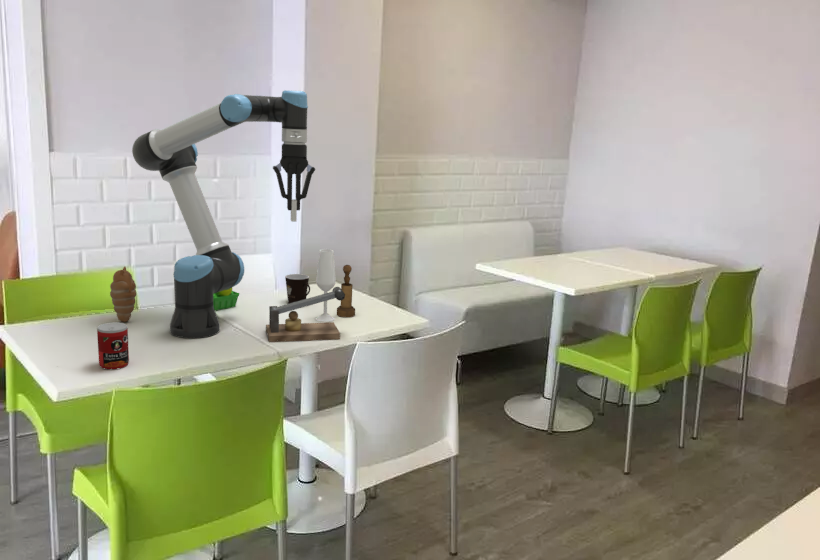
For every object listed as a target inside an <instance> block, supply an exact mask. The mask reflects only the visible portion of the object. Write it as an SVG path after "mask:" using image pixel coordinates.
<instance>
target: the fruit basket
mask: <svg viewBox="0 0 820 560" xmlns="http://www.w3.org/2000/svg"><path fill="white" fill-rule="evenodd" d="M239 295H240V292H237V291H235V290H233V287H232V288H230V289H227V290H223V291H220V292H217V293H214V294H213V305H214V310H216V311H219V310H225V309H231V308H235V307H236V305H237V302H238V299H239V297H240V296H239Z"/></svg>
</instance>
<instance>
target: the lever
mask: <svg viewBox="0 0 820 560" xmlns="http://www.w3.org/2000/svg"><path fill="white" fill-rule="evenodd" d="M331 290H332V291H328V292H327V293H325V294H324V293H322V294H319V295H315V296H312V297H311V296H310V297H308V298H306V299H304V300H300V301H297V302H293V303H290V304H288V303H286V304H284V305H279V306H277V307H271V308H270V313H271V310H279V315H281V314H283V313H288V312H291V311H295V310H298V309H301V308H305V307H309V306H313V305H315V304H319V303H324V301H327V302H328V301H330V300H334V299H336V300H337V301H341V300H343V299H344V298H345V294H344V292H343V291H342V289H341V287H339V286H334V287H333V288H332V289H331Z"/></svg>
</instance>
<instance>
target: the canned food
mask: <svg viewBox="0 0 820 560" xmlns="http://www.w3.org/2000/svg"><path fill="white" fill-rule="evenodd" d="M128 329H129V328H128V325H127V324H126V323H125V322H118V321H117V322H116V321H115V322H104V323H101V324H99V325H98V326H96V334H97V335H96V337H97V338H96V339H97V349H98V351H97V352H98V365H99V367H100V368H101V367H102V368H101V369H103V368H105V369H104V370H110V369H112V370H118V369H117V368H120V369H123V368H125V367H127V366H128V365H129V362H130V354H129V353H130V352H129V349H130V348H129V330H128Z"/></svg>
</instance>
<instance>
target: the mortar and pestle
mask: <svg viewBox="0 0 820 560" xmlns="http://www.w3.org/2000/svg"><path fill="white" fill-rule="evenodd" d="M352 270H353V269H352V266H351V265H349V264H344V265H343V267H342V271H343V273H344V276H343V282H342V283H341V287H340V288H341V289H342V291H343V292H344V294H345V298H344V299H343V300H340V305H339V306H337V308H336V316H338V317H341V318H353V317H355V316H356V308H355V307H354V306H353V283H350V281H351V277H350V273H351V272H352Z"/></svg>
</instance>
